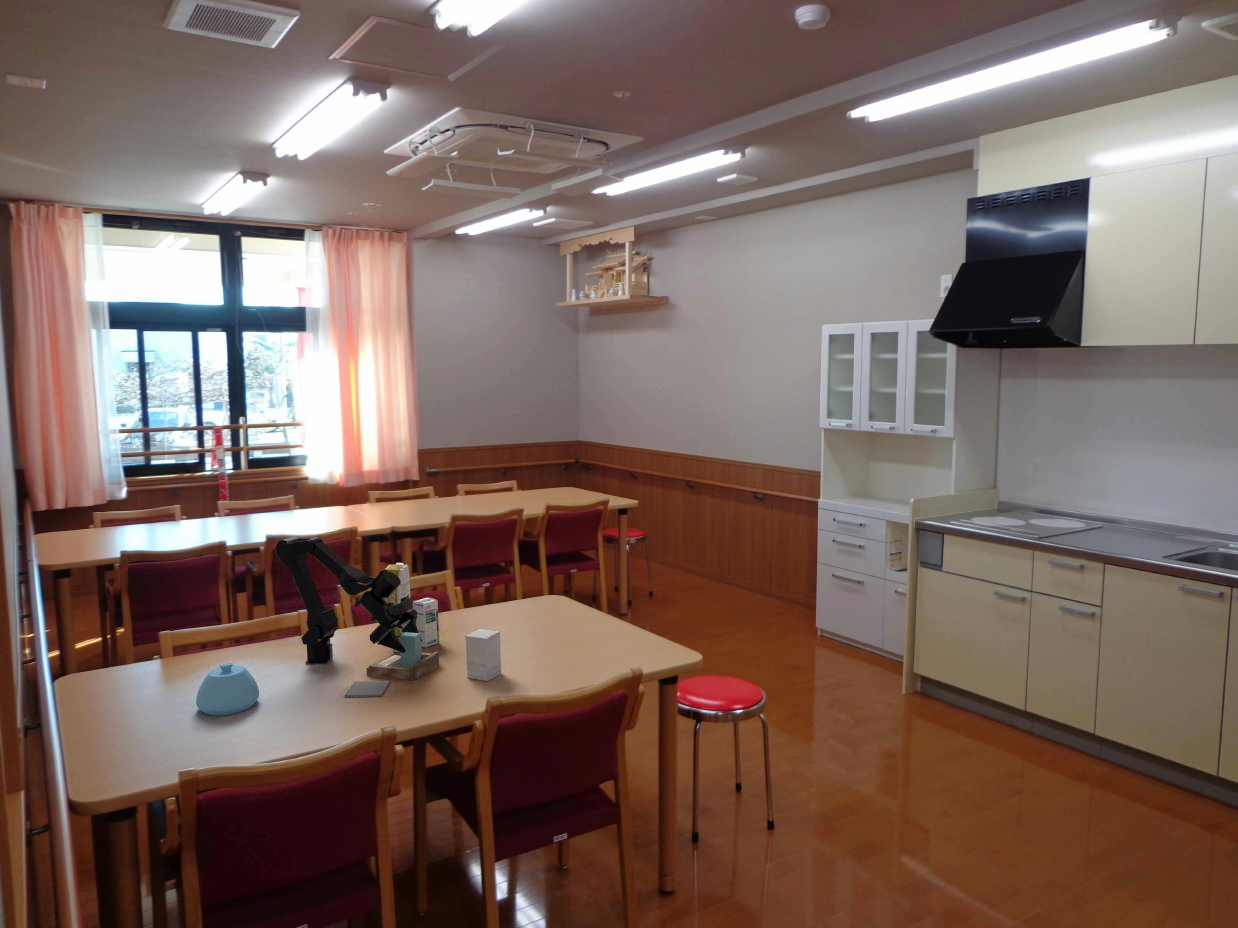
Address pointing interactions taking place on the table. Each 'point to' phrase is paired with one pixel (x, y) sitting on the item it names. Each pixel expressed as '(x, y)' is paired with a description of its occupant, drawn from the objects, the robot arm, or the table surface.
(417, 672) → the walnut tray
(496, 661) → the supplement box
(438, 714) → the table surface
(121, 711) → the table surface
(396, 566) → the juice carton
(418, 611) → the syrup box
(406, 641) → the teal board
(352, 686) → the grey mat
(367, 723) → the table surface
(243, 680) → the sugar bowl
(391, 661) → the offcut stack
